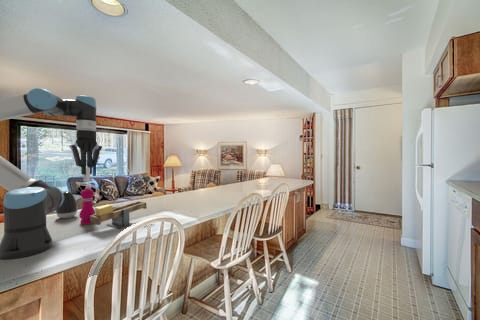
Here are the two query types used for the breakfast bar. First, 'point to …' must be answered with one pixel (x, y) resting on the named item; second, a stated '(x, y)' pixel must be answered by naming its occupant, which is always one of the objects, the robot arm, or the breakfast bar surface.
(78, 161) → the robot arm
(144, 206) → the beam
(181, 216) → the breakfast bar surface
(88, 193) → the magenta figurine
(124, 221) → the fulcrum
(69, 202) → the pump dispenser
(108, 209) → the block
